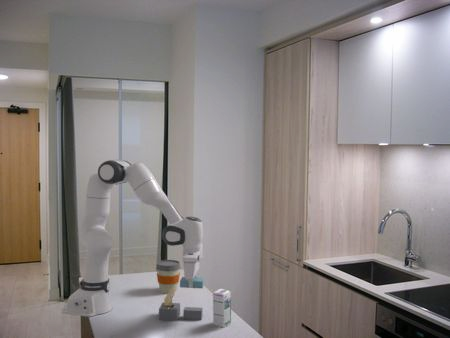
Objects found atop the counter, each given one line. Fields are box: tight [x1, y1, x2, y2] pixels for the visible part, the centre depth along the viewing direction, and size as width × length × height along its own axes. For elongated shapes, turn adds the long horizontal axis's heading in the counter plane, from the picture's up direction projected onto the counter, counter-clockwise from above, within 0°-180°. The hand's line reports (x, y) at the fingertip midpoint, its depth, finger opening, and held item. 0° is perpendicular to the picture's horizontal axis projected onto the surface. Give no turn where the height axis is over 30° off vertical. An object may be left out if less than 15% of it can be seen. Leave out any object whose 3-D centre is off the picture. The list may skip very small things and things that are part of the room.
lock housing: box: [158, 302, 203, 322], centre depth 204 cm, size 18×8×5 cm, turn 86°
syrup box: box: [212, 288, 232, 328], centre depth 196 cm, size 6×6×14 cm
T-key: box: [163, 289, 176, 308], centre depth 204 cm, size 14×2×10 cm, turn 176°
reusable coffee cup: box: [155, 259, 181, 294], centre depth 240 cm, size 13×13×15 cm
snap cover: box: [179, 276, 205, 289], centre depth 202 cm, size 10×6×3 cm, turn 85°
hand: (192, 284), depth 202 cm, fingers closed on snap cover, 6 cm apart
